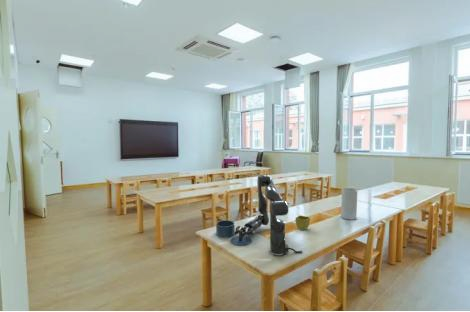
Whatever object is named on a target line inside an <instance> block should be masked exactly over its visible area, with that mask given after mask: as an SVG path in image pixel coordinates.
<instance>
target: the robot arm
mask: <svg viewBox="0 0 470 312" xmlns="http://www.w3.org/2000/svg"><path fill="white" fill-rule="evenodd" d="M256 180H257V181H256V182H257V183H256V184H257V185H256V186H257V197H258V198H257V199H258V203H257V204H258V207H257V210H258V213H259V214H257V215H256V216H255V217H254V219H252V220H250V221H248V222H246V223H244V225H243V226H240V225H238V226H236V227H235V234H234V236H235V235H236V236H237V235H239V230H243V233H242V236H245V237H246V236H252V235H254V234H255V231H256V230H257V229H259V228H261V226H262V225H263V226H268V225H269V226H270V227H269V253H270V254H272V255H273V256H275V257H276V256H278V257H281V256H285V255H286V253H289V250H291V251H293V252H294V253H296V254H300V253H303V251H302V250H295V248H292V247H289V244H286V221H284V220H283V219H280V218H278V217H282V216H287V215H288V214H289V206H288V203H287V201H286V200H285V199H284V198H283V196H282V195H281V194H280V192H279V190H278V188H277V186H276V185H275V183H274V181H273V178H272V176H271V175H270V174H259V175H257V179H256ZM263 188H264V192H263ZM268 201H269V211H268Z"/></svg>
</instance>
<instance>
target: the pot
mask: <svg viewBox="0 0 470 312" xmlns="http://www.w3.org/2000/svg"><path fill="white" fill-rule="evenodd" d="M235 231H236V227H235V222H234V221H232V220H228V219H227V220H226V219H224V220H219V221H217V222H216V224H215V235H216V236H217V237H218V238H225V239H226V238H227V239H228V238H231V237H232V238H233V237H234V236H235Z"/></svg>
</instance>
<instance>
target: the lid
mask: <svg viewBox="0 0 470 312" xmlns="http://www.w3.org/2000/svg"><path fill="white" fill-rule="evenodd" d="M242 233H243V230H239V233H238V235H236V236H232V238H230V243H231V244H232V245H234V246H238V247H239V246H240V247H243V246H248V245H250V244H251V243H252V239H251V238H250V237H248V236H246V235H245V236H242Z"/></svg>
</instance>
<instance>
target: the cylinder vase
mask: <svg viewBox="0 0 470 312" xmlns="http://www.w3.org/2000/svg"><path fill="white" fill-rule="evenodd" d="M340 201H341V202H340V217H341V219H345V220H349V221H351V220H356V219H357V214H358V213H357V212H358V189H357V188H351V187H343V188H341V199H340Z"/></svg>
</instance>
